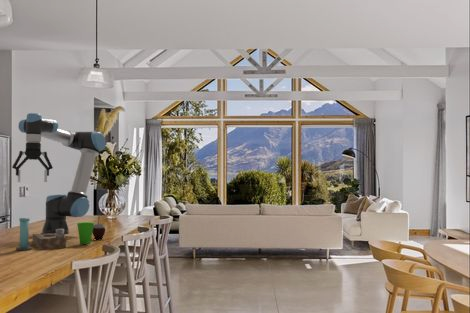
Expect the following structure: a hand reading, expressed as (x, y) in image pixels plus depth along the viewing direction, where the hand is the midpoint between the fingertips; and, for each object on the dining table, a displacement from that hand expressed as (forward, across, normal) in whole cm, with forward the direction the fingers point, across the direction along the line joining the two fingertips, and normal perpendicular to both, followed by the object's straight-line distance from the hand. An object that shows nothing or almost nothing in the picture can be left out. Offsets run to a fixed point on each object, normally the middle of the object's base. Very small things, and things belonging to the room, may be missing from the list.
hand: (32, 182), depth 289 cm
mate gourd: (+32, -35, +6) cm, 48 cm away
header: (+32, -5, +19) cm, 37 cm away
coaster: (+32, +8, +27) cm, 42 cm away
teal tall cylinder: (+31, +8, +27) cm, 42 cm away
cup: (+32, -23, +21) cm, 45 cm away
